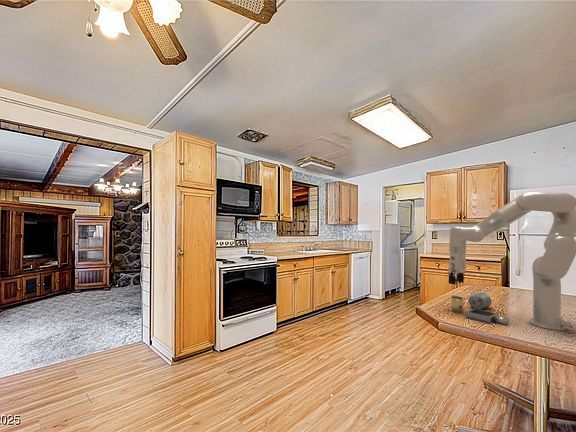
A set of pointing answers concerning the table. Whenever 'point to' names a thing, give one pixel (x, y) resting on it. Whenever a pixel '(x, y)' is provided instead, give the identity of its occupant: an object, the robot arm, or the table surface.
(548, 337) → the table surface
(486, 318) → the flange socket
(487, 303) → the grey-teal rounded cylinder
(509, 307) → the table surface
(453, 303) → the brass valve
